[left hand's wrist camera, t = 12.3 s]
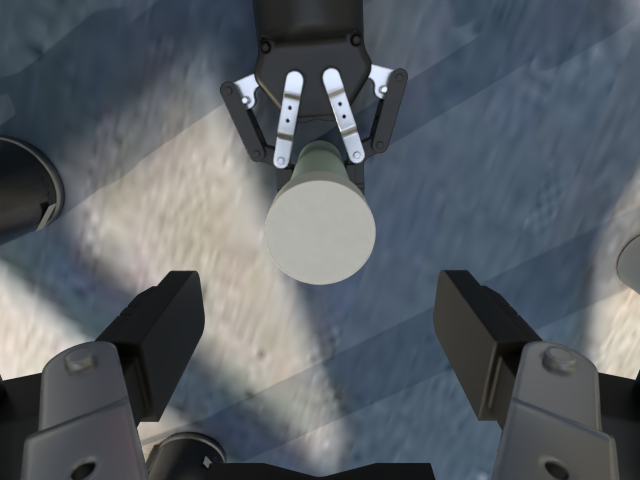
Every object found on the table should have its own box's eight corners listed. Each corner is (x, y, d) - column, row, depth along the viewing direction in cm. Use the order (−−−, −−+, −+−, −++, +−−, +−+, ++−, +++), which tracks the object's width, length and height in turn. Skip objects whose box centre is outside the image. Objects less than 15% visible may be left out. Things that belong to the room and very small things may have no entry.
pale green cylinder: (304, 135, 34) (286, 176, 16) (346, 146, 35) (377, 201, 16) (294, 177, 36) (266, 261, 17) (334, 188, 36) (350, 281, 18)
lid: (282, 158, 17) (277, 166, 15) (383, 185, 18) (391, 197, 16) (261, 252, 19) (254, 270, 17) (353, 275, 19) (356, 295, 17)
